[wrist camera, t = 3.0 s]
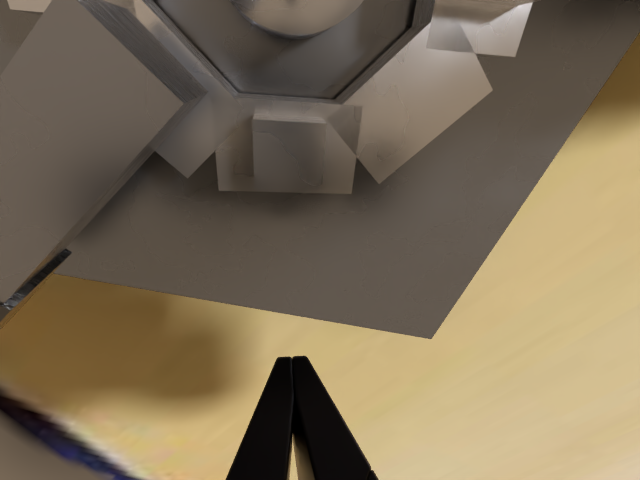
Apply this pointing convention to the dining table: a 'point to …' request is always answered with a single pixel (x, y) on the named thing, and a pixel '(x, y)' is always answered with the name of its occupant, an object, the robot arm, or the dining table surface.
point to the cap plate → (367, 195)
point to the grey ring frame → (207, 116)
